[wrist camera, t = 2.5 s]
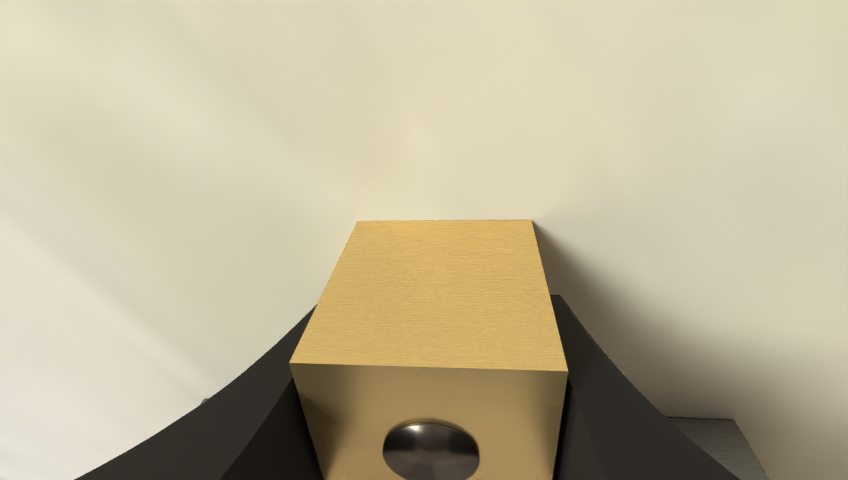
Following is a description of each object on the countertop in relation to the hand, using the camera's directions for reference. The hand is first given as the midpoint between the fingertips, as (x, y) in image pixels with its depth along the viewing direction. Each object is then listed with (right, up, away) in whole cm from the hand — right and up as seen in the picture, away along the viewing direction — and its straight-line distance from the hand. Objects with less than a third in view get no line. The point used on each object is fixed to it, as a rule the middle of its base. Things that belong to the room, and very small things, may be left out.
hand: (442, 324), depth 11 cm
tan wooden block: (0, +1, +1) cm, 1 cm away
